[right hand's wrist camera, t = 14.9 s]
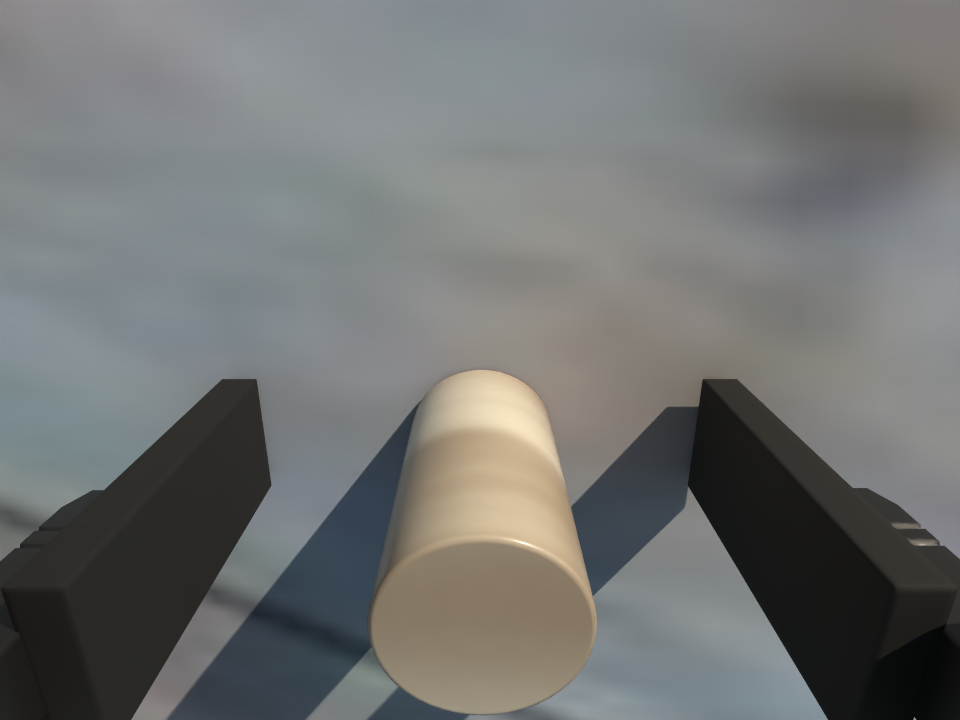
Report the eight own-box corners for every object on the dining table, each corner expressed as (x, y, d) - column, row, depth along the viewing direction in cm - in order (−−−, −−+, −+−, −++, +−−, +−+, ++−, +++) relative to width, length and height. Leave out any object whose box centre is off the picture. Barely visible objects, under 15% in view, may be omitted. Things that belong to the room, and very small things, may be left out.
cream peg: (547, 491, 14) (590, 717, 9) (415, 491, 14) (373, 718, 9) (553, 368, 13) (607, 537, 8) (409, 368, 13) (358, 537, 8)
